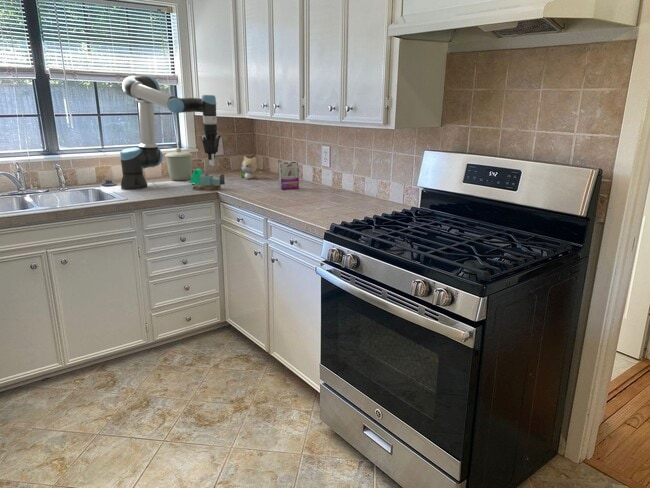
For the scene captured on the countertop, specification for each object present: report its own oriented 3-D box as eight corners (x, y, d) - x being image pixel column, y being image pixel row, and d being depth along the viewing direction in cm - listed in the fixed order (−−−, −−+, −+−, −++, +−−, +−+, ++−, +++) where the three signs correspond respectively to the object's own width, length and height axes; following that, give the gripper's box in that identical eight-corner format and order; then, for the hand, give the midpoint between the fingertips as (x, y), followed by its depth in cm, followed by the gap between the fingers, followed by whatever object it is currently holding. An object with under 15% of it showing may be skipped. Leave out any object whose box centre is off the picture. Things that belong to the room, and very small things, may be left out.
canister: (177, 176, 333) (174, 145, 327) (200, 178, 328) (197, 146, 322) (161, 181, 317) (157, 148, 311) (184, 182, 312) (182, 149, 305)
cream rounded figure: (235, 178, 328) (234, 156, 323) (245, 176, 336) (245, 154, 331) (252, 180, 320) (251, 158, 315) (262, 178, 328) (261, 156, 323)
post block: (192, 190, 288) (191, 173, 285) (198, 187, 298) (197, 170, 295) (215, 190, 287) (214, 173, 284) (220, 187, 296) (219, 171, 293)
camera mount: (212, 184, 307) (211, 168, 304) (204, 186, 301) (203, 169, 298) (198, 182, 313) (197, 166, 310) (190, 184, 306) (188, 168, 303)
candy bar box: (296, 187, 298) (296, 160, 293) (299, 188, 294) (298, 161, 289) (278, 188, 294) (278, 161, 289) (281, 190, 290) (280, 162, 285)
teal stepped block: (223, 186, 288) (222, 175, 286) (200, 185, 289) (199, 174, 287) (226, 184, 293) (225, 173, 291) (203, 183, 295) (202, 173, 293)
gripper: (205, 124, 266) (207, 167, 273) (223, 123, 276) (224, 164, 283) (196, 123, 270) (198, 165, 277) (214, 122, 280) (216, 163, 287)
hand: (212, 165), depth 280 cm, fingers closed
